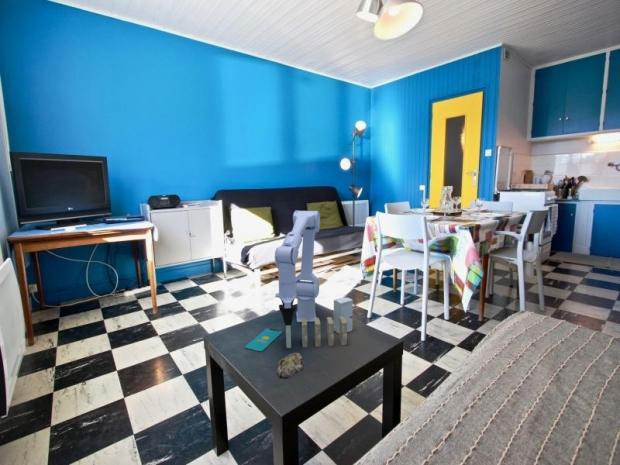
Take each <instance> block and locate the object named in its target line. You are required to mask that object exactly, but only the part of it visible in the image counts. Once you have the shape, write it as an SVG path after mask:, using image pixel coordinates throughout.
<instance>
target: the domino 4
mask: <svg viewBox="0 0 620 465" xmlns="http://www.w3.org/2000/svg"><path fill="white" fill-rule="evenodd" d="M334 332H335V331H334V319H333V318H332V317H331V316H329V317H326V340H327V344H328V346H329V347H332V346H334V344H335V343H334V342H335V340H334V339H335V338H334V337H335V336H334V334H335V333H334Z"/></svg>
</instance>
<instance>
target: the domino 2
mask: <svg viewBox="0 0 620 465" xmlns="http://www.w3.org/2000/svg"><path fill="white" fill-rule="evenodd" d="M301 344H302V346H301V347H302V348H308V322H307V321H306V318H302V322H301Z"/></svg>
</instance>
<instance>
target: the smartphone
mask: <svg viewBox="0 0 620 465" xmlns="http://www.w3.org/2000/svg"><path fill="white" fill-rule="evenodd" d="M281 335H283V331H282V330H279V329H272V328H266V329H264V330H263V331H262V332H260V333H259V334H258V335H257V336H256V337H254V338H253V339H252V340H251V341H250V342H248V343H247V344H246V345H245V346H244V349H245V350H250V351H253V352H257V353H263V352H264V351H265V350H267V348H268V347H270V345H272V344H273V343H274V342H275V341H276V340H277V339H278V338H279V337H280V336H281Z"/></svg>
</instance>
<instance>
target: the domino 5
mask: <svg viewBox="0 0 620 465" xmlns="http://www.w3.org/2000/svg"><path fill="white" fill-rule="evenodd" d="M339 340H340V343H341V345H342V346H347V345H348V344H347V343H348V342H347V341H348V332H347V322H346V320H345V317H340V334H339Z"/></svg>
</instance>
